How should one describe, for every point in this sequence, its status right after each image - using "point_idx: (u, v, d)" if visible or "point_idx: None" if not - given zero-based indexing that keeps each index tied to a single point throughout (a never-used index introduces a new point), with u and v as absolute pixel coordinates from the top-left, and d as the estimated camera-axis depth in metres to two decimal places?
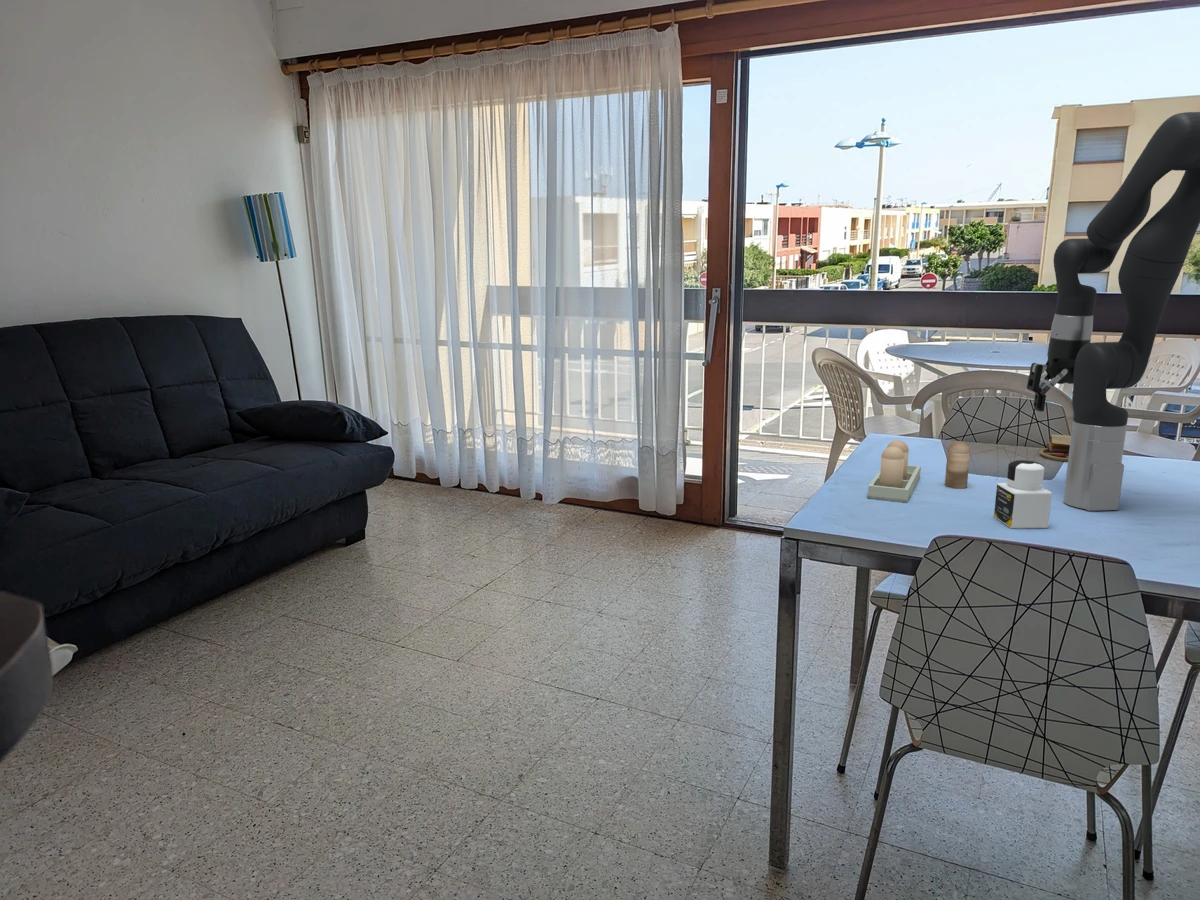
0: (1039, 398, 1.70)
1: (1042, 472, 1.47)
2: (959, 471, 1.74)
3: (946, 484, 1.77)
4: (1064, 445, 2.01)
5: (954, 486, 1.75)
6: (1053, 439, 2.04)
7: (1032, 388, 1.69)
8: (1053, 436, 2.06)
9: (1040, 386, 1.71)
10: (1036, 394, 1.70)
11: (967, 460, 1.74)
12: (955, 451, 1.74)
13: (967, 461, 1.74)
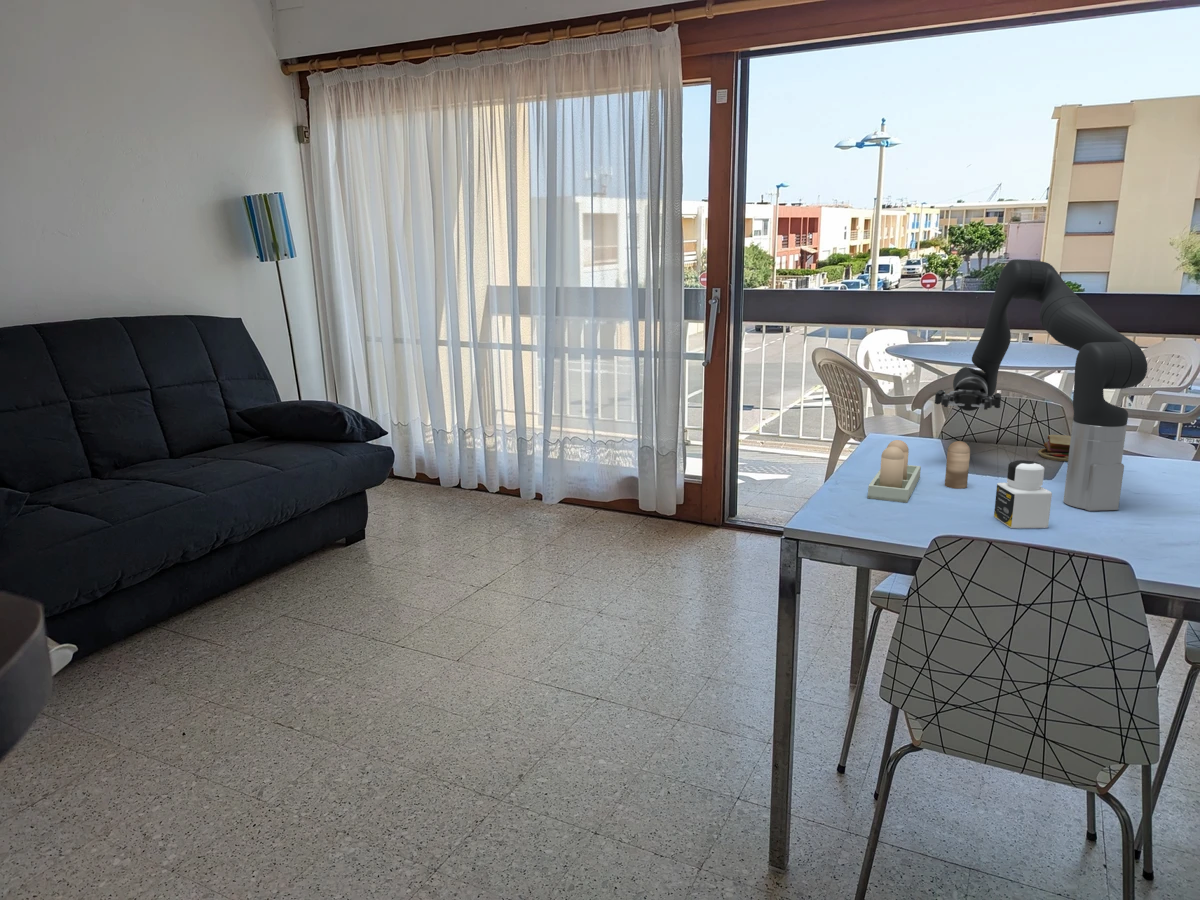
0: (943, 397, 1.88)
1: (1042, 472, 1.47)
2: (959, 471, 1.74)
3: (946, 484, 1.77)
4: (1062, 445, 2.01)
5: (954, 486, 1.75)
6: (1051, 439, 2.04)
7: None
8: (1051, 436, 2.06)
9: None
10: (942, 400, 1.89)
11: (967, 460, 1.74)
12: (955, 451, 1.74)
13: (967, 461, 1.74)
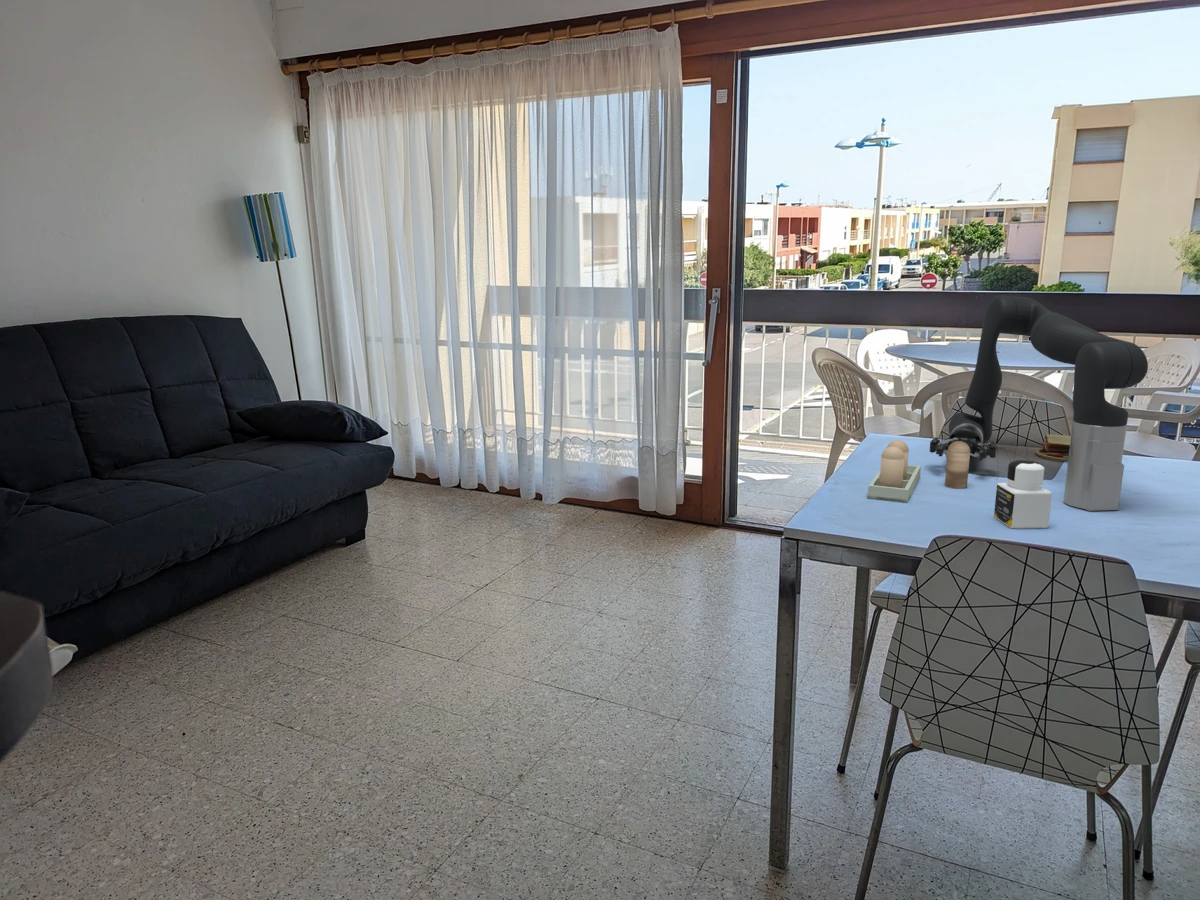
0: (938, 446, 1.86)
1: (1042, 472, 1.47)
2: (959, 471, 1.74)
3: (946, 484, 1.77)
4: (1060, 445, 2.01)
5: (954, 486, 1.75)
6: (1049, 439, 2.04)
7: None
8: (1048, 436, 2.06)
9: None
10: None
11: (967, 460, 1.74)
12: (955, 451, 1.74)
13: (967, 461, 1.74)
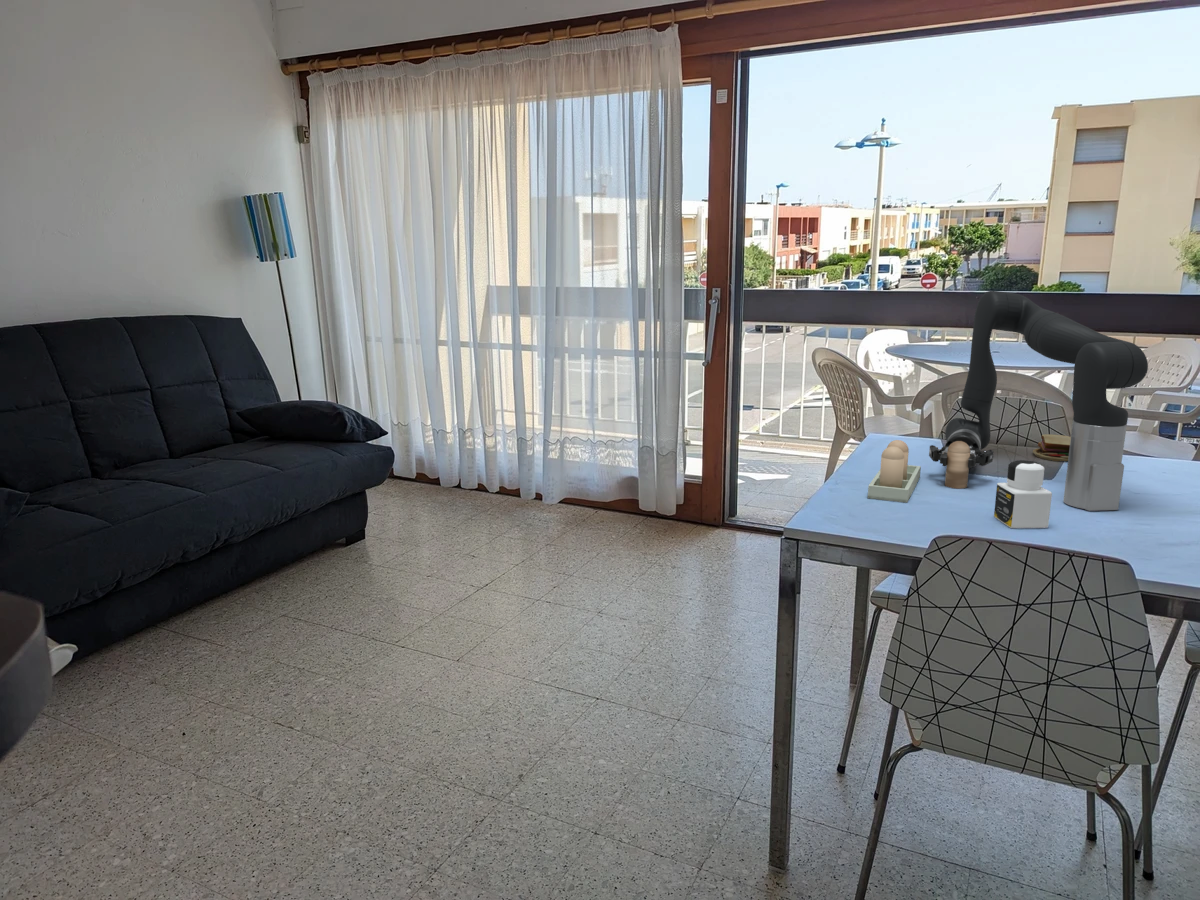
0: (942, 455, 1.78)
1: (1042, 472, 1.47)
2: (959, 471, 1.74)
3: (946, 484, 1.77)
4: (1057, 445, 2.01)
5: (954, 486, 1.75)
6: (1045, 439, 2.04)
7: (933, 450, 1.80)
8: (1045, 436, 2.06)
9: None
10: None
11: (967, 460, 1.74)
12: (955, 451, 1.74)
13: (967, 461, 1.74)
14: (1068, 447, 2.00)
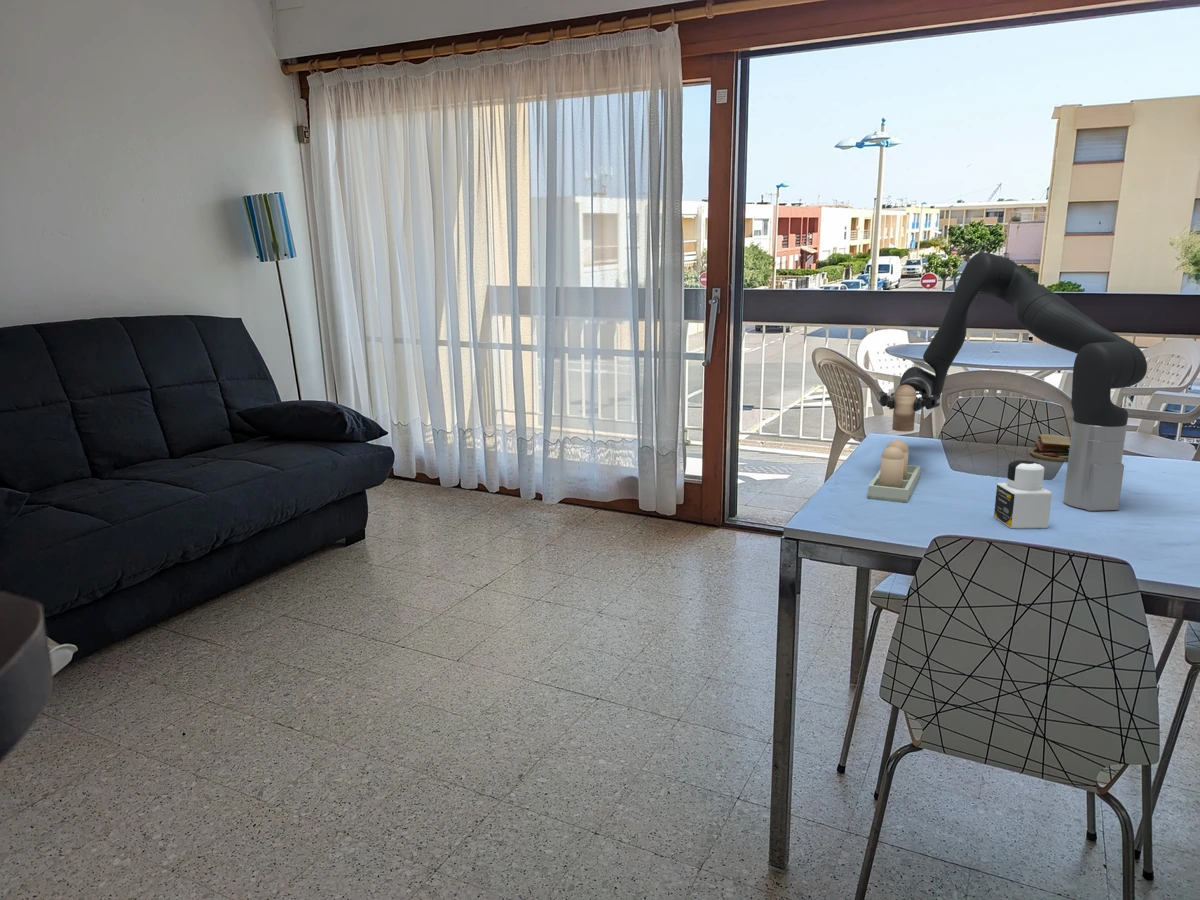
0: (889, 399, 1.81)
1: (1042, 472, 1.47)
2: (905, 414, 1.77)
3: (893, 427, 1.80)
4: (1055, 445, 2.01)
5: (901, 429, 1.78)
6: (1042, 439, 2.04)
7: (881, 395, 1.83)
8: (1041, 436, 2.06)
9: None
10: None
11: (913, 403, 1.77)
12: (901, 394, 1.77)
13: (913, 404, 1.77)
14: (1065, 447, 2.00)
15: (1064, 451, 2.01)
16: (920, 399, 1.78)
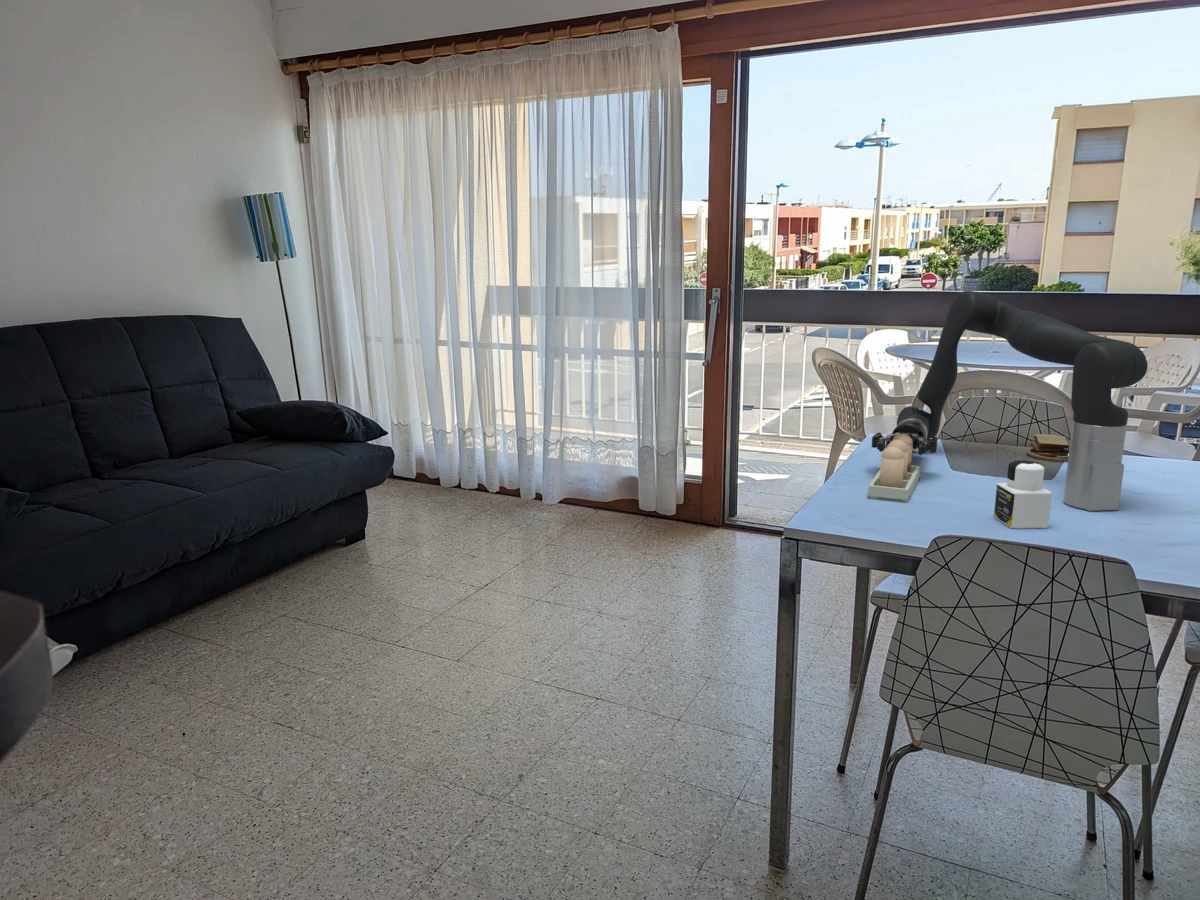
0: (879, 441, 1.84)
1: (1042, 472, 1.47)
2: None
3: None
4: (1051, 445, 2.01)
5: None
6: (1039, 439, 2.04)
7: None
8: (1037, 436, 2.06)
9: None
10: None
11: (910, 452, 1.80)
12: None
13: (910, 453, 1.80)
14: (1062, 447, 2.01)
15: (1060, 451, 2.01)
16: (926, 443, 1.80)
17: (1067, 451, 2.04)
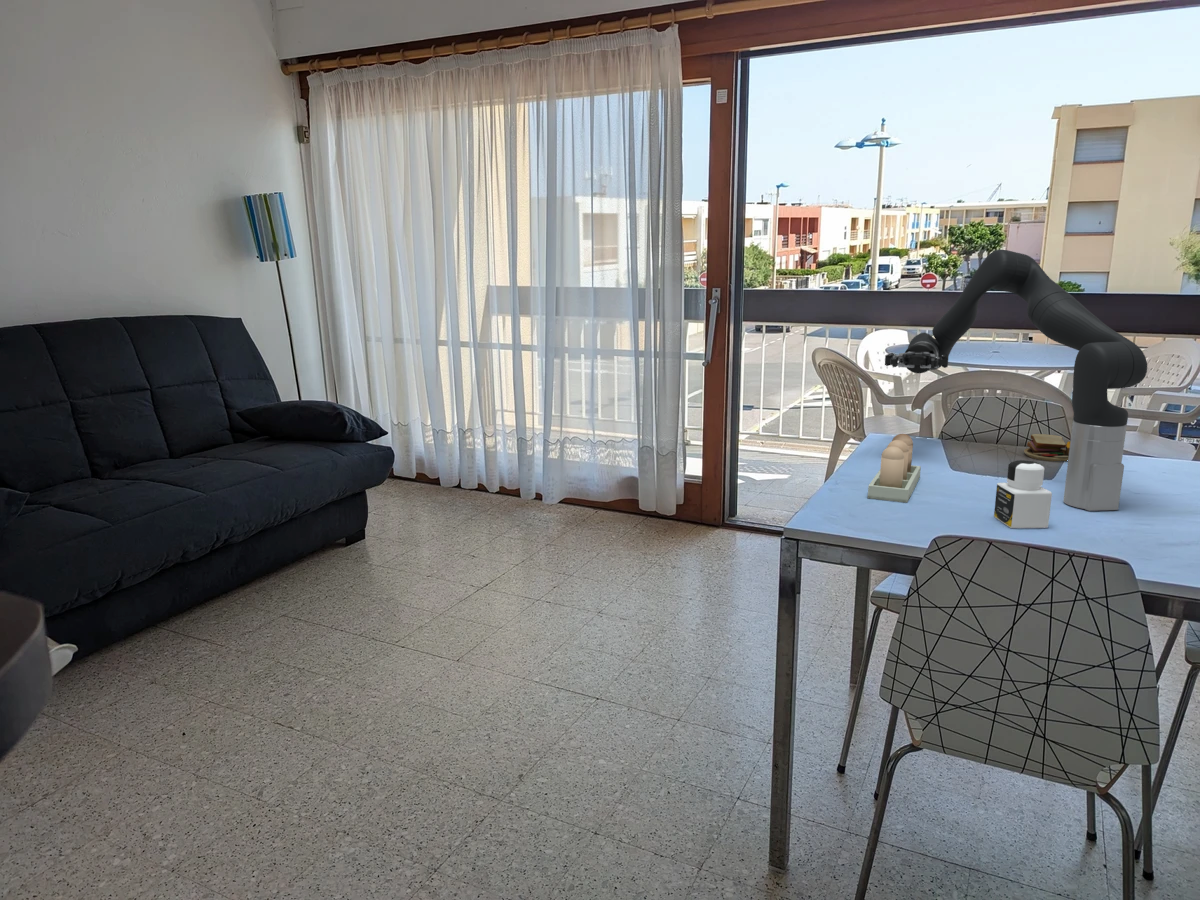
0: (892, 358, 1.91)
1: (1042, 472, 1.47)
2: None
3: None
4: (1049, 444, 2.01)
5: None
6: (1036, 439, 2.04)
7: (885, 355, 1.94)
8: (1034, 436, 2.06)
9: None
10: None
11: (910, 452, 1.80)
12: None
13: (910, 453, 1.80)
14: (1059, 447, 2.01)
15: (1058, 451, 2.02)
16: (938, 358, 1.87)
17: (1064, 451, 2.05)
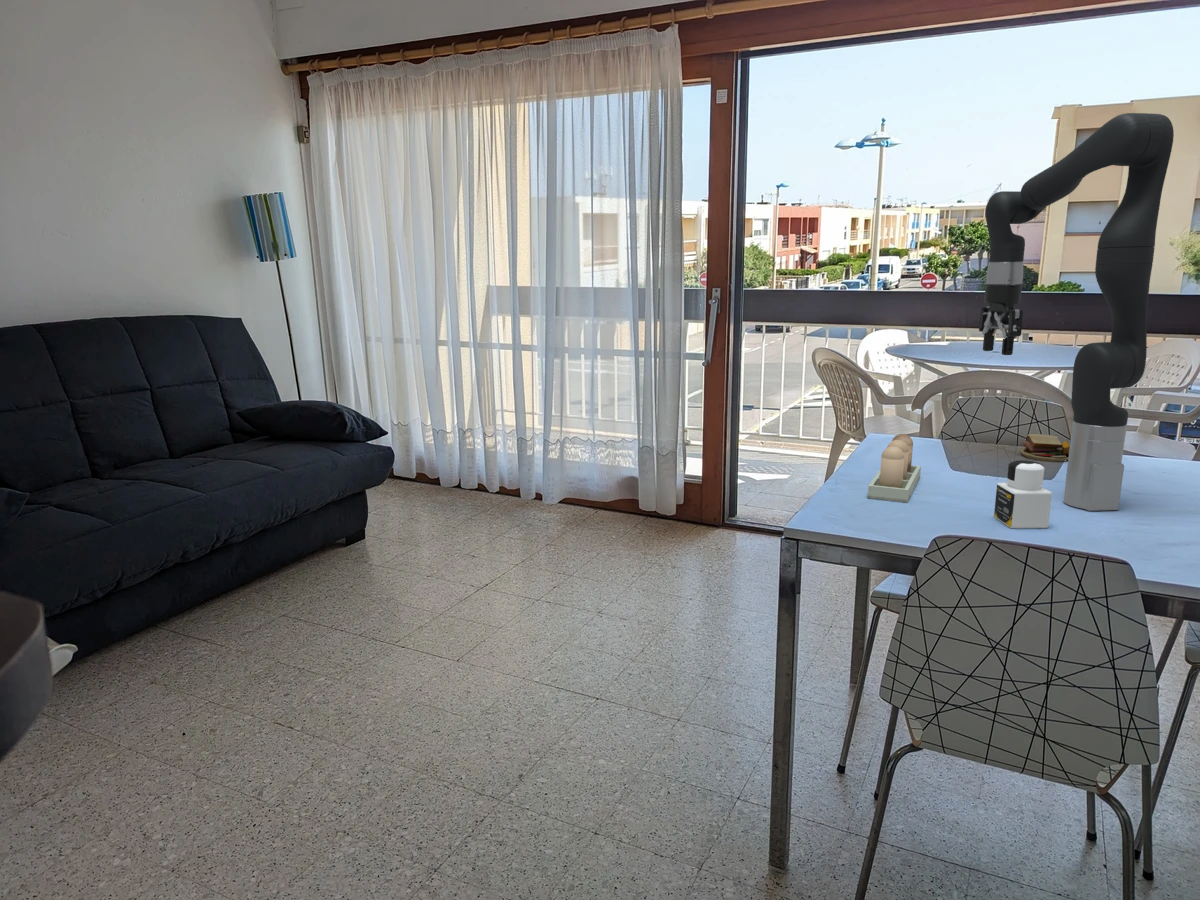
0: (984, 338, 1.89)
1: (1042, 472, 1.47)
2: None
3: None
4: (1045, 444, 2.01)
5: None
6: (1032, 439, 2.04)
7: None
8: (1030, 436, 2.06)
9: (992, 328, 1.88)
10: None
11: (910, 452, 1.79)
12: None
13: (910, 453, 1.80)
14: (1055, 446, 2.01)
15: (1054, 451, 2.02)
16: (1006, 337, 1.79)
17: (1060, 451, 2.05)
